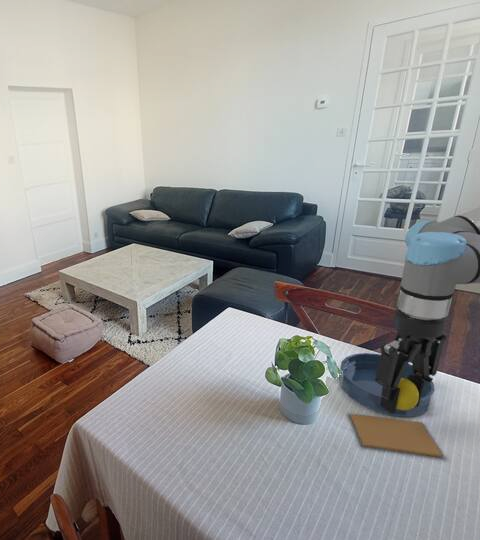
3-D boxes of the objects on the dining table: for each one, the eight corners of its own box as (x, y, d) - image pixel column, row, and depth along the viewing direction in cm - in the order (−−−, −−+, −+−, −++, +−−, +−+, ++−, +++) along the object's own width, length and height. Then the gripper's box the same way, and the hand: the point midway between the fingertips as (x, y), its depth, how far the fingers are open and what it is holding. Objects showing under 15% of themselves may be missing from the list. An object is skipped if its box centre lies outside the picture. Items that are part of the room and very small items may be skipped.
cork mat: (420, 424, 78) (421, 422, 78) (441, 457, 70) (442, 455, 70) (350, 415, 83) (351, 413, 83) (363, 446, 75) (363, 443, 75)
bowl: (408, 371, 95) (412, 356, 93) (447, 423, 78) (452, 406, 76) (330, 364, 101) (332, 350, 99) (350, 411, 84) (353, 395, 82)
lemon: (385, 396, 78) (391, 367, 75) (416, 407, 74) (424, 377, 71) (379, 410, 74) (385, 380, 71) (412, 422, 70) (420, 391, 68)
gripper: (438, 295, 71) (416, 385, 79) (363, 312, 67) (348, 404, 76) (481, 310, 64) (452, 407, 72) (400, 331, 61) (379, 429, 69)
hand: (399, 405), depth 74 cm, fingers closed on lemon, 5 cm apart
